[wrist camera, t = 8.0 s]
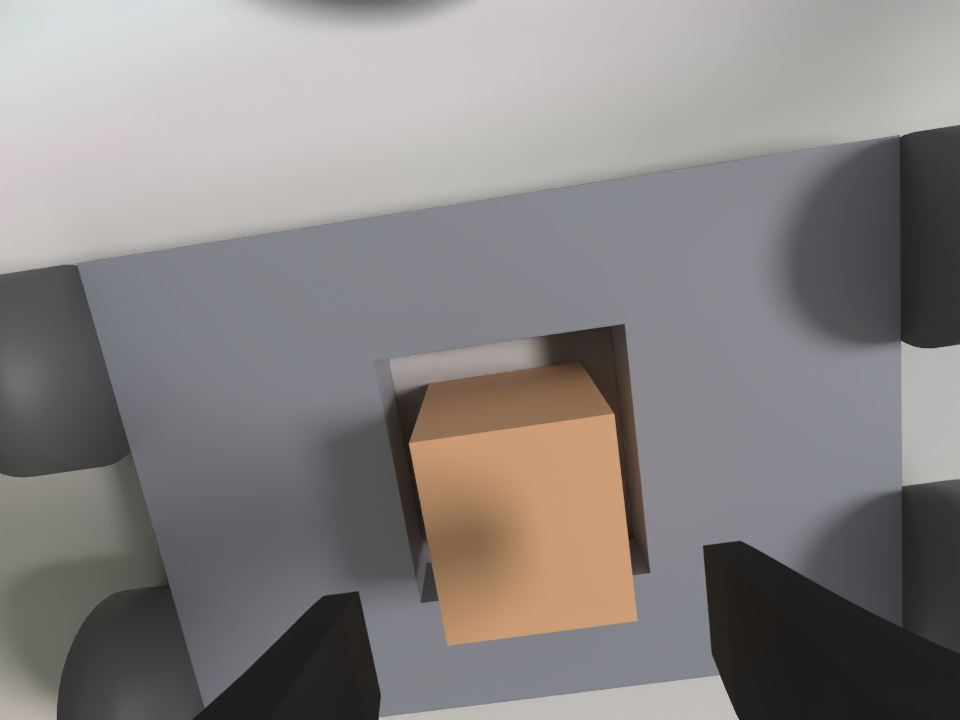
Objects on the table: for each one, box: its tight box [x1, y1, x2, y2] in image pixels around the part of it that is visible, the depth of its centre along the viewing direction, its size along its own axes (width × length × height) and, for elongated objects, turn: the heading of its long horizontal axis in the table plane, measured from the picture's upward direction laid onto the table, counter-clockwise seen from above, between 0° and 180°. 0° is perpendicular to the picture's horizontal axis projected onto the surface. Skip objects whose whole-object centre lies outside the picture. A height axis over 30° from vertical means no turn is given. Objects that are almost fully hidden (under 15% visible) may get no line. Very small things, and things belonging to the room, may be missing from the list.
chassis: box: [0, 125, 960, 720], centre depth 16 cm, size 14×24×5 cm, turn 99°
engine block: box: [409, 361, 638, 646], centre depth 16 cm, size 5×4×5 cm
